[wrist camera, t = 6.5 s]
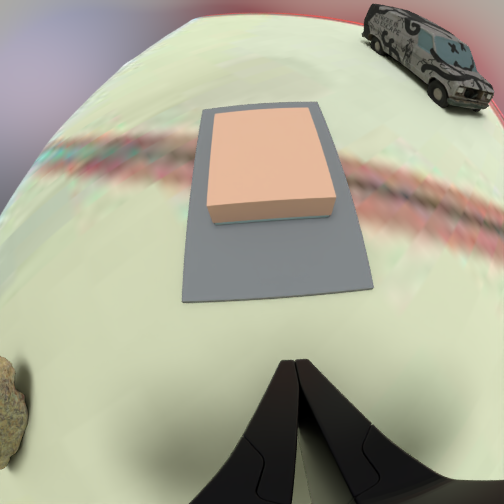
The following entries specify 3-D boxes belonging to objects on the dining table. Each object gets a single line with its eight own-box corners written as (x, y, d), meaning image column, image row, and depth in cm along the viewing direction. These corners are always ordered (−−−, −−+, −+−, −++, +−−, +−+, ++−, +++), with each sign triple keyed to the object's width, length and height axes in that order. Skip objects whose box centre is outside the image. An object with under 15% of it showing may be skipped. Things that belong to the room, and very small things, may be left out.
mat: (372, 289, 16) (373, 287, 16) (183, 302, 17) (181, 301, 16) (317, 104, 25) (317, 101, 25) (203, 111, 26) (202, 109, 25)
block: (336, 197, 16) (308, 107, 20) (206, 205, 16) (214, 113, 21) (330, 218, 18) (306, 128, 23) (214, 226, 19) (219, 134, 23)
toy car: (446, 116, 25) (469, 55, 16) (358, 42, 36) (362, -2, 27) (485, 120, 25) (507, 72, 16) (400, 47, 36) (407, 8, 27)
